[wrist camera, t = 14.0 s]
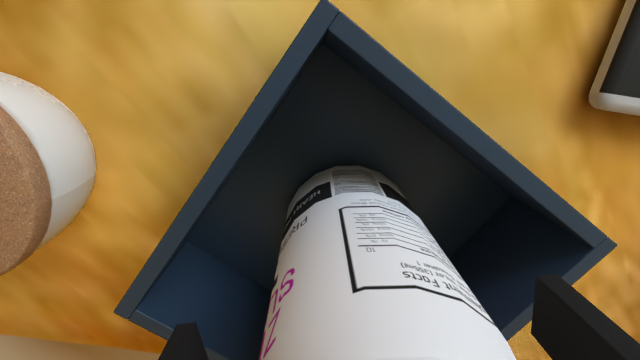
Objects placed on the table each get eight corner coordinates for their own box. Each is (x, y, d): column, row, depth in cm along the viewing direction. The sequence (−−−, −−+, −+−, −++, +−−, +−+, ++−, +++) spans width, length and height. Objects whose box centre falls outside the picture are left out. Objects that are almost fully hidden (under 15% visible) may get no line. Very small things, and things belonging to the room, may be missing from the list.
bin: (176, 236, 24) (112, 312, 16) (320, 24, 20) (322, -5, 12) (362, 346, 27) (381, 451, 20) (518, 188, 23) (618, 245, 16)
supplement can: (419, 248, 23) (581, 524, 9) (312, 283, 24) (308, 587, 10) (385, 144, 21) (536, 301, 7) (268, 188, 22) (178, 410, 8)
